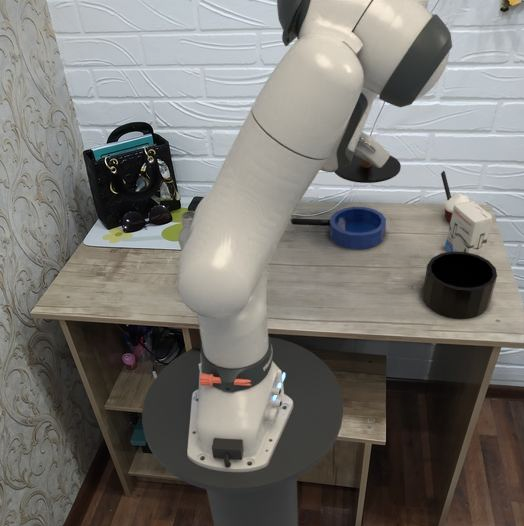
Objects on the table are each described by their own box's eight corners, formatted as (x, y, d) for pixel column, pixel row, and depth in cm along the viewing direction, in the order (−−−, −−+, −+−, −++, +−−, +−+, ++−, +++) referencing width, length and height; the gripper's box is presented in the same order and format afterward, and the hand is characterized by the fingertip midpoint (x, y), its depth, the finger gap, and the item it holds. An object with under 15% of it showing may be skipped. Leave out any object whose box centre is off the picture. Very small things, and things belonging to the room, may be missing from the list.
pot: (492, 321, 116) (500, 291, 111) (423, 316, 118) (428, 287, 113) (484, 281, 126) (492, 253, 121) (421, 278, 128) (426, 249, 123)
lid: (400, 186, 123) (403, 162, 120) (329, 184, 126) (330, 160, 122) (400, 156, 134) (402, 132, 130) (335, 154, 137) (336, 131, 133)
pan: (384, 250, 137) (385, 236, 134) (327, 248, 139) (327, 234, 136) (384, 221, 147) (386, 207, 144) (331, 219, 149) (332, 205, 146)
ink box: (443, 248, 136) (452, 203, 128) (462, 243, 137) (471, 199, 129) (464, 267, 130) (474, 221, 122) (483, 262, 131) (494, 216, 123)
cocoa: (476, 223, 144) (486, 179, 135) (458, 231, 141) (467, 186, 133) (448, 208, 150) (457, 165, 141) (431, 216, 147) (438, 172, 139)
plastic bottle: (193, 284, 131) (180, 205, 117) (221, 288, 129) (211, 208, 116) (183, 301, 126) (168, 221, 113) (211, 305, 125) (200, 225, 111)
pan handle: (332, 227, 142) (333, 221, 141) (290, 225, 143) (290, 220, 142) (333, 224, 143) (333, 218, 142) (291, 222, 144) (291, 216, 143)
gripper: (375, 127, 111) (408, 161, 121) (316, 98, 124) (350, 131, 134) (356, 155, 113) (390, 187, 122) (299, 123, 126) (334, 154, 136)
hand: (369, 157), depth 128 cm, fingers closed on lid, 2 cm apart
